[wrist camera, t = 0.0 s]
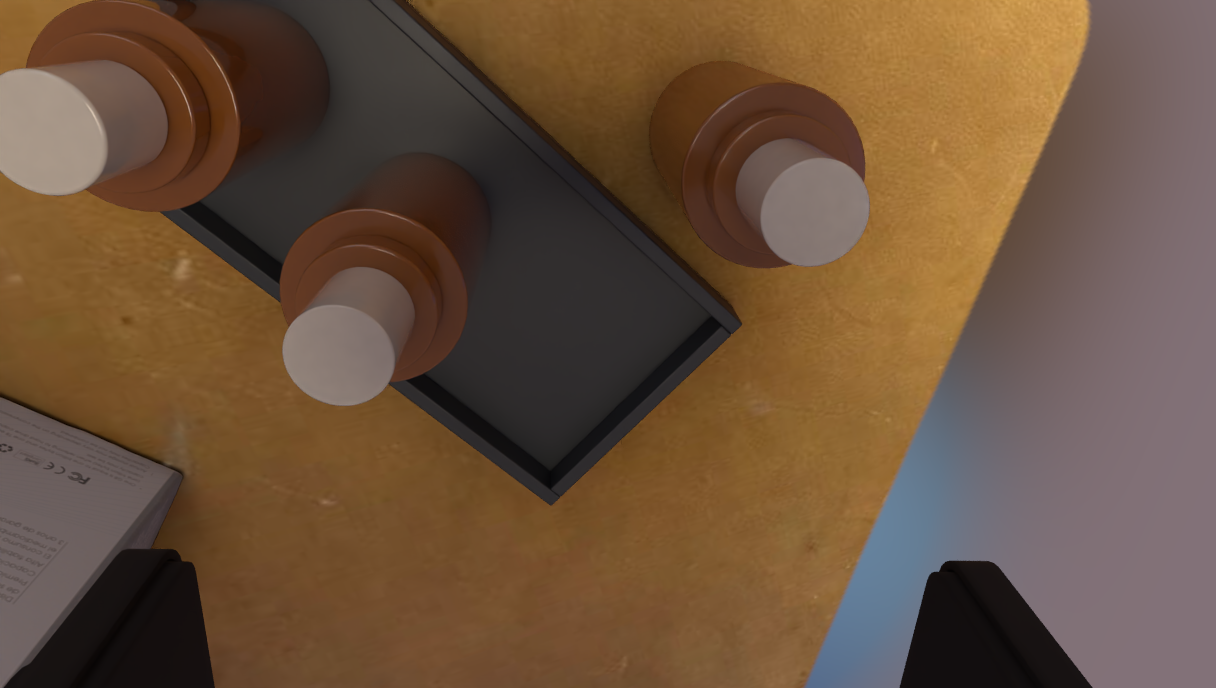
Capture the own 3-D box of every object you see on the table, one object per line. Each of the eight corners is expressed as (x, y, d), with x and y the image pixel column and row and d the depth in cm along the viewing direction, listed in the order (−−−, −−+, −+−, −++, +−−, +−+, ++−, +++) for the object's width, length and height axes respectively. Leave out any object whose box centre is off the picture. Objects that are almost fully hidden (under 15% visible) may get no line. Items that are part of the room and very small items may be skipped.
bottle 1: (234, -35, 27) (-17, -64, 15) (360, 76, 29) (220, 128, 17) (149, 83, 29) (-144, 140, 17) (274, 183, 30) (88, 302, 18)
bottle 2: (411, 122, 30) (312, 202, 18) (520, 217, 31) (496, 350, 19) (325, 224, 31) (178, 364, 19) (433, 311, 33) (361, 491, 21)
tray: (254, -142, 27) (230, -153, 25) (732, 306, 34) (743, 324, 32) (74, 115, 30) (40, 123, 28) (551, 479, 37) (550, 506, 35)
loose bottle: (719, 29, 30) (828, 47, 18) (812, 129, 31) (969, 208, 19) (620, 135, 31) (658, 220, 19) (714, 226, 32) (804, 357, 21)
